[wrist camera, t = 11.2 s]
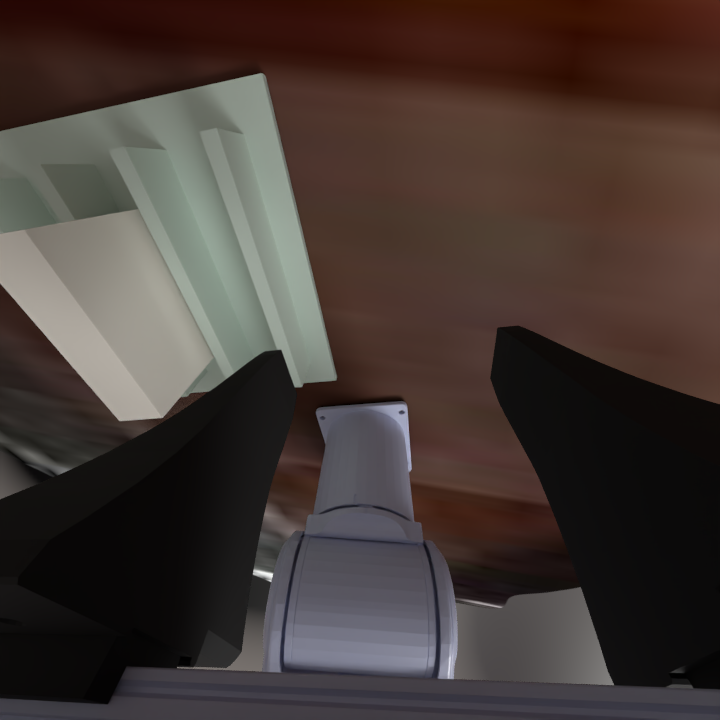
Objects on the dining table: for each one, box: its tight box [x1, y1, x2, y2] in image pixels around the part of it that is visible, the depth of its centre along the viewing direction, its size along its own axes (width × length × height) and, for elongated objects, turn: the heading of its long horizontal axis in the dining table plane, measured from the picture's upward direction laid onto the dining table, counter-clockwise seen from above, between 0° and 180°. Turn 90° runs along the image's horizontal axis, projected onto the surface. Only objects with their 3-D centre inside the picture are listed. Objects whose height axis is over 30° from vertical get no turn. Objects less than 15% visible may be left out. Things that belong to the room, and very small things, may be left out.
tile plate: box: [0, 209, 214, 421], centre depth 16 cm, size 9×2×8 cm, turn 8°
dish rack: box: [0, 73, 337, 397], centre depth 18 cm, size 18×17×4 cm
